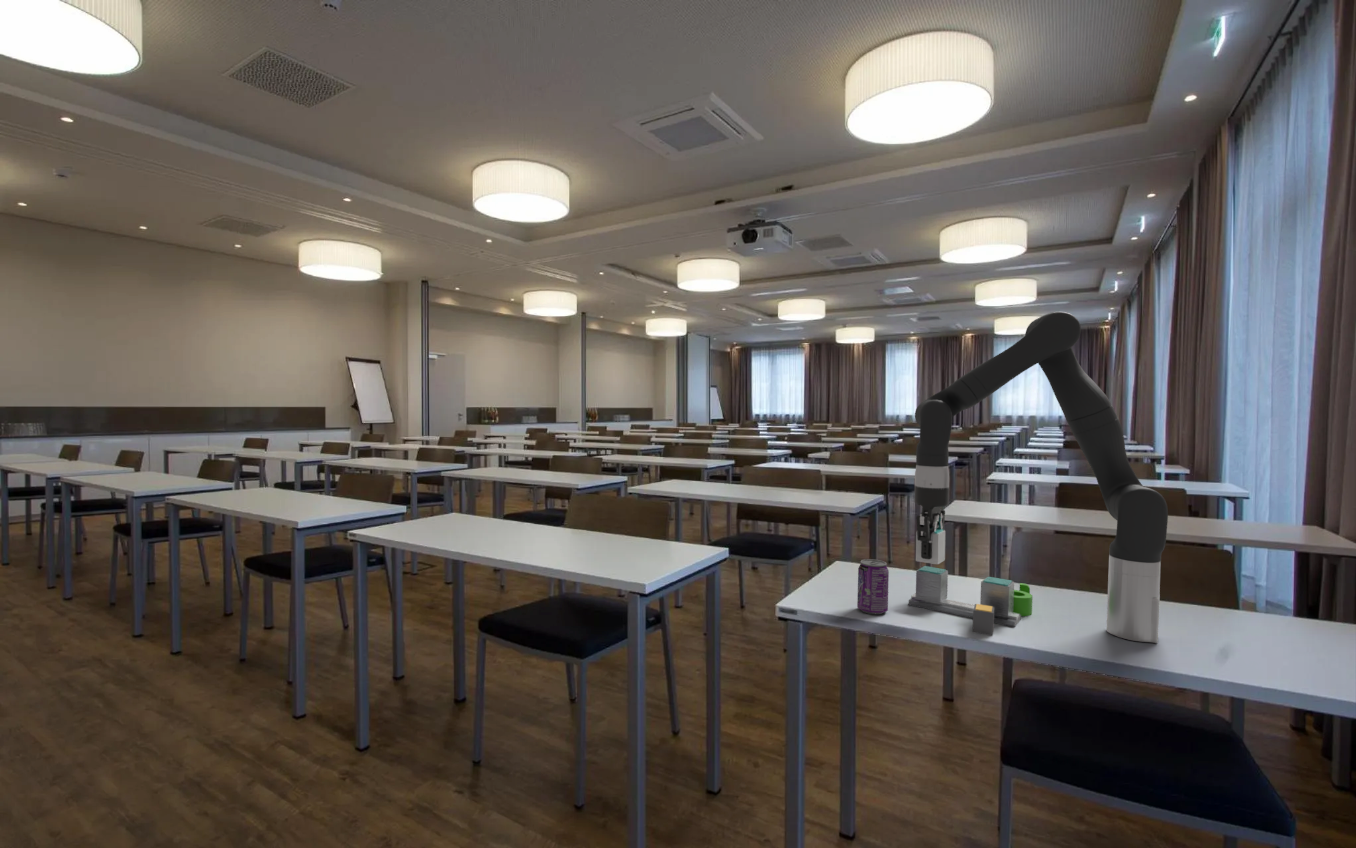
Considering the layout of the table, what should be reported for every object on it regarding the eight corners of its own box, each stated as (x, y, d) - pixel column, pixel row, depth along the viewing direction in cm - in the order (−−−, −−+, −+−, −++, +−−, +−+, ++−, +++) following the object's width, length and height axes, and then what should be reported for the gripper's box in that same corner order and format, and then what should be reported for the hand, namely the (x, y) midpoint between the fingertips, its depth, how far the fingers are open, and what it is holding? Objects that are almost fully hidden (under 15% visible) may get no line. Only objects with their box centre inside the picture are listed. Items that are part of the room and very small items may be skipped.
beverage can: (862, 604, 157) (864, 557, 156) (891, 610, 153) (892, 561, 152) (853, 611, 151) (854, 562, 151) (882, 618, 147) (883, 567, 147)
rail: (1020, 619, 148) (1022, 581, 147) (1014, 627, 142) (1015, 587, 142) (917, 598, 163) (918, 563, 162) (908, 604, 157) (909, 568, 157)
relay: (993, 628, 141) (994, 606, 141) (992, 635, 137) (993, 612, 137) (974, 625, 143) (974, 603, 143) (972, 632, 139) (973, 609, 139)
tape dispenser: (1032, 619, 149) (1032, 599, 149) (998, 613, 152) (999, 595, 152) (1030, 602, 162) (1031, 584, 162) (999, 597, 166) (1000, 580, 165)
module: (944, 560, 148) (945, 529, 147) (937, 564, 143) (938, 532, 143) (923, 556, 151) (923, 526, 150) (915, 561, 146) (916, 530, 146)
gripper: (939, 489, 139) (937, 564, 139) (957, 483, 150) (955, 553, 150) (905, 486, 143) (904, 559, 144) (925, 480, 154) (924, 548, 155)
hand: (930, 555), depth 147 cm, fingers closed on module, 5 cm apart
